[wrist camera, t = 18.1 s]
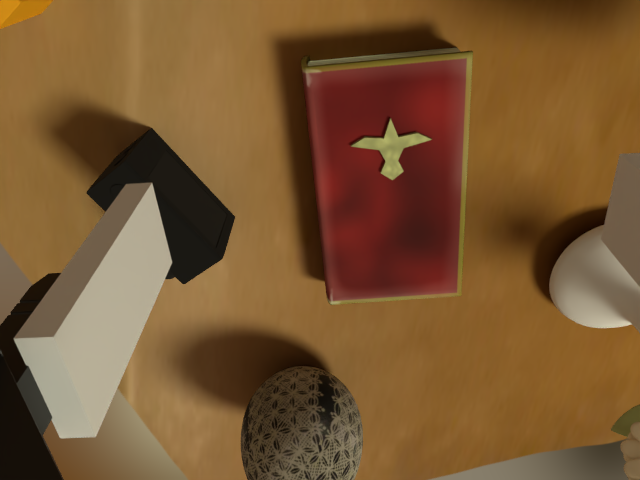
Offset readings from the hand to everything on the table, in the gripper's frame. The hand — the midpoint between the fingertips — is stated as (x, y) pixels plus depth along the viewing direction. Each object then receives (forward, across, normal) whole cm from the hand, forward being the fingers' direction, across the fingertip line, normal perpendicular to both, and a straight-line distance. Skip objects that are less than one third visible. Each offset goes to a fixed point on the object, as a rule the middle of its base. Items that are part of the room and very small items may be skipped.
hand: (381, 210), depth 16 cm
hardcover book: (+29, +2, -12) cm, 32 cm away
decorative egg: (+29, -6, -36) cm, 46 cm away
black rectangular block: (+29, -16, -12) cm, 35 cm away
